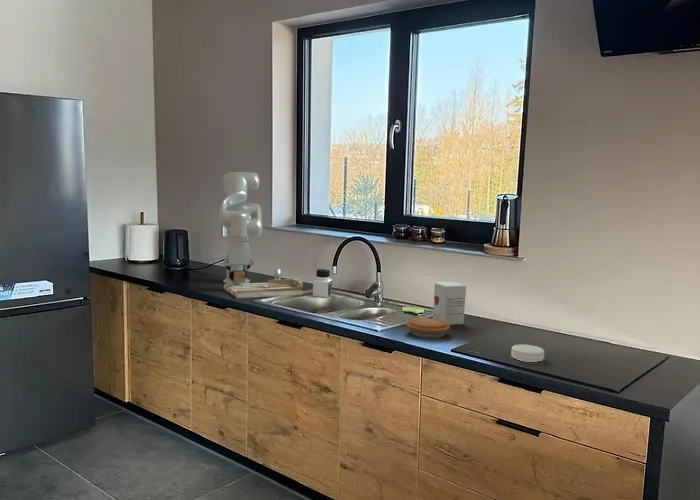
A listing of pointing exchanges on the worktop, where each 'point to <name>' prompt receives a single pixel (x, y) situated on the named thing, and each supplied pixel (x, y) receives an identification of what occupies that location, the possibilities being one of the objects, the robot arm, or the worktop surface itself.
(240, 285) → the pad
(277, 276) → the grey metal peg
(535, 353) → the white round container
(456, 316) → the supplement box
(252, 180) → the robot arm
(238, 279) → the walnut cube
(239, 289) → the board
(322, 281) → the medicine bottle
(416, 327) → the pie
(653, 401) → the worktop surface
